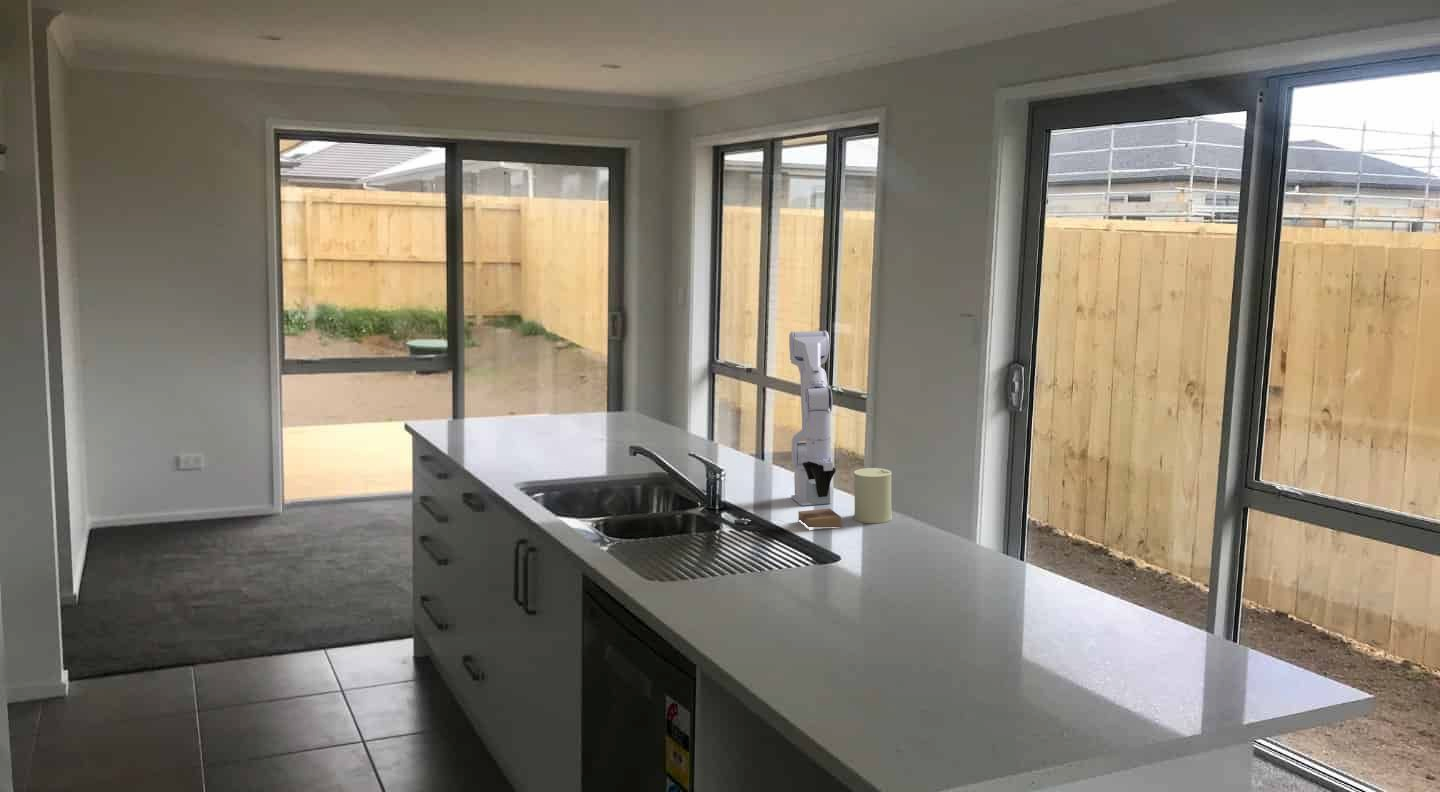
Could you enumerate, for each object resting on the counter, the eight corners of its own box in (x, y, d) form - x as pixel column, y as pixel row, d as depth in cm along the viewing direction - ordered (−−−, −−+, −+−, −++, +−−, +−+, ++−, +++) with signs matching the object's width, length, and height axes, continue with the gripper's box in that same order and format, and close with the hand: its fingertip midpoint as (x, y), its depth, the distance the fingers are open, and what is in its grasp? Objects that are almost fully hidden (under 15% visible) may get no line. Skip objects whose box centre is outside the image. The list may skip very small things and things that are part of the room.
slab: (798, 523, 276) (798, 511, 275) (829, 520, 278) (829, 508, 277) (809, 532, 268) (809, 519, 268) (841, 529, 270) (841, 516, 269)
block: (806, 499, 273) (805, 479, 272) (824, 498, 274) (823, 477, 274) (812, 504, 269) (811, 483, 268) (830, 502, 270) (829, 482, 269)
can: (894, 523, 272) (894, 474, 270) (855, 523, 272) (855, 475, 270) (889, 512, 281) (889, 465, 279) (852, 513, 282) (851, 466, 280)
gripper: (793, 433, 275) (794, 488, 277) (811, 445, 261) (812, 502, 264) (820, 431, 277) (821, 485, 279) (841, 443, 263) (841, 500, 265)
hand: (819, 494), depth 271 cm, fingers closed on block, 4 cm apart
